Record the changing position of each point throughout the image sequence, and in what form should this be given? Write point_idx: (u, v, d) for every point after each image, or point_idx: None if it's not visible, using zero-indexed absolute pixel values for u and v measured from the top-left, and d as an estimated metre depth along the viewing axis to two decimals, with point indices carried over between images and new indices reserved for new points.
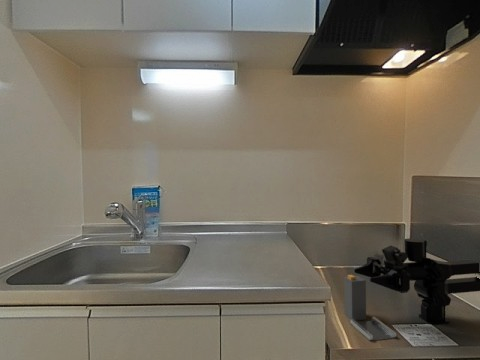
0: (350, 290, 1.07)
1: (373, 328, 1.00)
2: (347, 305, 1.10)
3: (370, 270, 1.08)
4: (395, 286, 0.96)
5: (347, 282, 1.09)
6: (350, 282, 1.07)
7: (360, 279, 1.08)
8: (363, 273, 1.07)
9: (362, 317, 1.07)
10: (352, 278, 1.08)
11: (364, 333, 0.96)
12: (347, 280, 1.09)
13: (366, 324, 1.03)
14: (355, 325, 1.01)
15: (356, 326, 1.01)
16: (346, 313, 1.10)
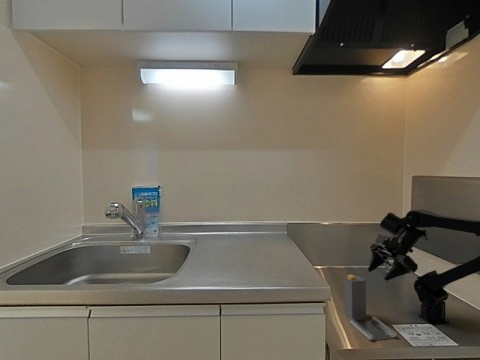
0: (350, 290, 1.08)
1: (373, 328, 1.00)
2: (347, 305, 1.10)
3: (379, 258, 1.16)
4: (406, 270, 1.04)
5: (348, 282, 1.09)
6: (350, 282, 1.07)
7: (360, 279, 1.08)
8: (376, 266, 1.15)
9: (362, 317, 1.07)
10: (352, 278, 1.08)
11: (364, 333, 0.96)
12: (347, 280, 1.09)
13: (366, 324, 1.03)
14: (355, 325, 1.01)
15: (356, 326, 1.01)
16: (346, 313, 1.10)
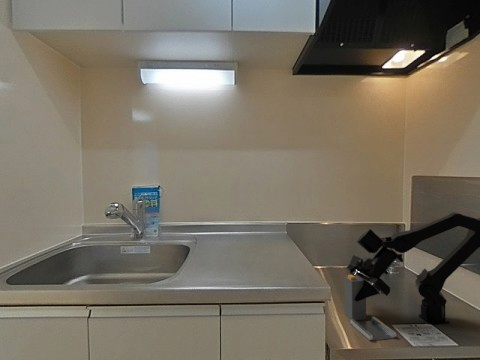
0: (350, 290, 1.07)
1: (373, 328, 1.00)
2: (347, 305, 1.10)
3: None
4: (375, 291, 1.05)
5: (348, 282, 1.09)
6: (350, 282, 1.07)
7: (360, 279, 1.08)
8: None
9: (362, 317, 1.07)
10: (352, 278, 1.08)
11: (364, 333, 0.96)
12: (347, 280, 1.09)
13: (366, 324, 1.03)
14: (355, 325, 1.01)
15: (356, 326, 1.01)
16: (346, 313, 1.10)
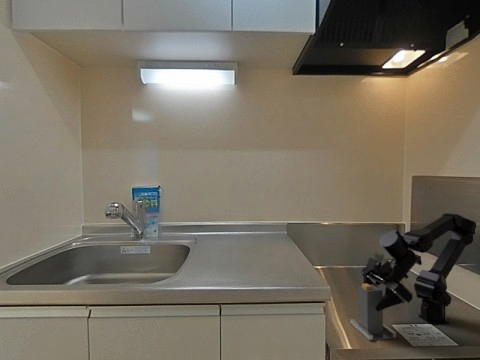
0: (365, 301, 0.98)
1: None
2: (361, 317, 1.00)
3: (371, 284, 1.05)
4: (399, 300, 0.93)
5: (362, 292, 0.99)
6: (365, 291, 0.98)
7: (376, 288, 0.98)
8: None
9: (378, 330, 0.97)
10: (367, 287, 0.98)
11: (364, 333, 0.96)
12: (362, 289, 0.99)
13: None
14: (355, 325, 1.01)
15: (356, 326, 1.01)
16: None
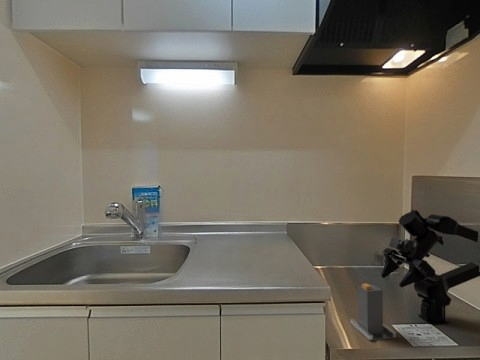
0: (365, 301, 0.98)
1: None
2: (361, 317, 1.00)
3: (393, 264, 1.09)
4: (422, 276, 0.97)
5: (362, 292, 0.99)
6: (365, 291, 0.98)
7: (376, 288, 0.98)
8: (390, 272, 1.09)
9: (378, 330, 0.97)
10: (367, 287, 0.98)
11: (364, 333, 0.96)
12: (362, 289, 0.99)
13: None
14: (355, 325, 1.01)
15: (356, 326, 1.01)
16: None
